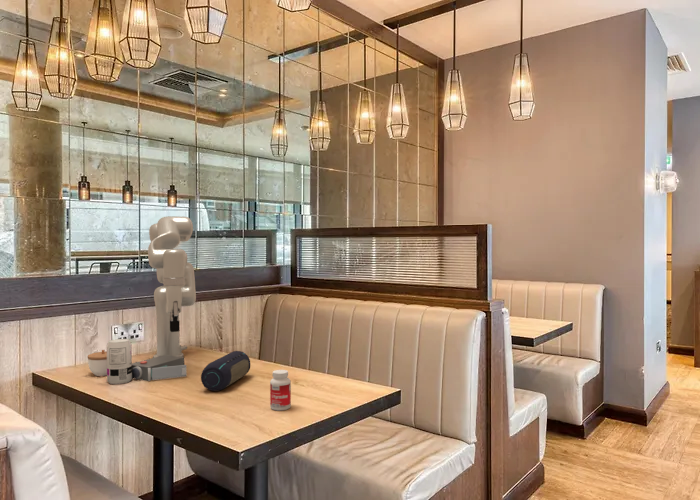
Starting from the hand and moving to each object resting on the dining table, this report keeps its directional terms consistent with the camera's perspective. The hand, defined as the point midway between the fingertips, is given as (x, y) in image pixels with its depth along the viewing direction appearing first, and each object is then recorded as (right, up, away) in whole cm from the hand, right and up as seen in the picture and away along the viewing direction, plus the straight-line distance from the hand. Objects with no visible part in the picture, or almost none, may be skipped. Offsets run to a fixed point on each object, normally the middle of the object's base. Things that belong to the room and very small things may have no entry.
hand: (174, 330), depth 194 cm
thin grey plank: (0, -17, -4) cm, 17 cm away
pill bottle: (+45, -18, -38) cm, 62 cm away
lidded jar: (-29, -18, +4) cm, 34 cm away
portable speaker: (+22, -17, -10) cm, 30 cm away
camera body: (-8, -17, +4) cm, 19 cm away
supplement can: (-18, -18, -7) cm, 26 cm away
